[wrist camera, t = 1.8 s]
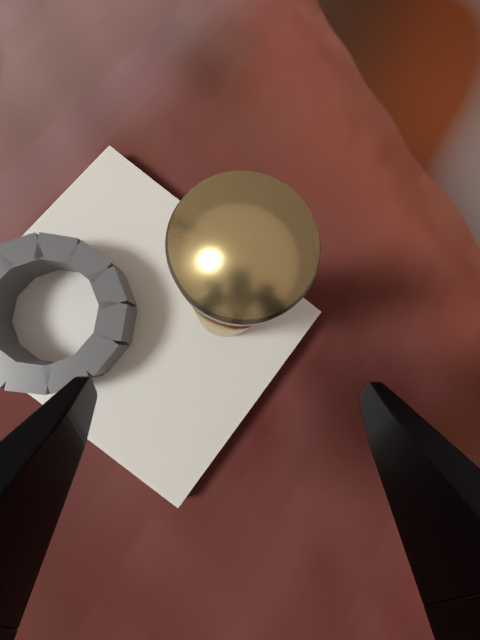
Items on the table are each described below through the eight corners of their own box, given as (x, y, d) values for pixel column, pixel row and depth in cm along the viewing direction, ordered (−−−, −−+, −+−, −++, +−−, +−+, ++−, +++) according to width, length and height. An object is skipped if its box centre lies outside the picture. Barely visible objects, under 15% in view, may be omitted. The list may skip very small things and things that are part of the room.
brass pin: (267, 303, 19) (352, 233, 8) (231, 350, 19) (260, 356, 7) (220, 266, 19) (231, 137, 8) (182, 312, 19) (128, 253, 7)
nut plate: (315, 313, 21) (334, 307, 18) (180, 498, 19) (173, 530, 15) (115, 157, 21) (96, 119, 17) (-45, 325, 19) (-103, 320, 15)
